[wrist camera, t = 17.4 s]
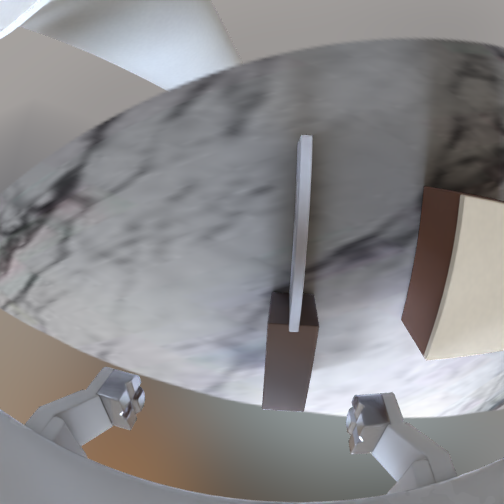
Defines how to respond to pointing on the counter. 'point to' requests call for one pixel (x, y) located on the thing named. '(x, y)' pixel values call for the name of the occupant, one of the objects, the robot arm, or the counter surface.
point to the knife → (293, 310)
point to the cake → (457, 276)
